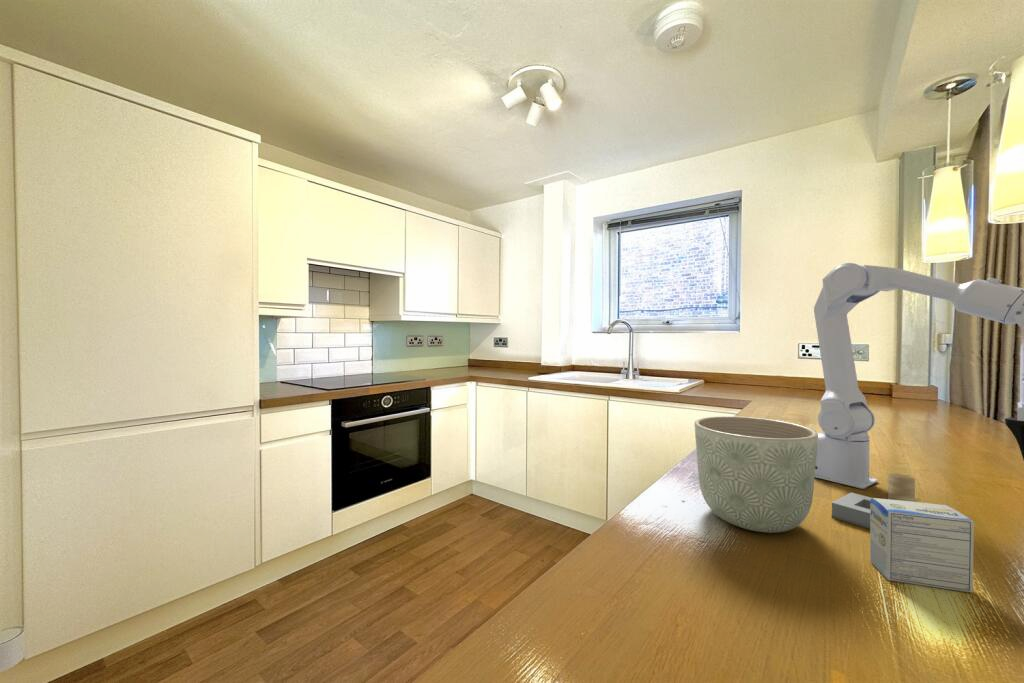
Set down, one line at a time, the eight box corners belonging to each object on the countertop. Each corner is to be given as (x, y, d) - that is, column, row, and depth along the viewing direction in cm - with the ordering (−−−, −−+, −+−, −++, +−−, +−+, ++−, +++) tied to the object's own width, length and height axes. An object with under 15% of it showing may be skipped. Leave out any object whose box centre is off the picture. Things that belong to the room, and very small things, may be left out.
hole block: (831, 517, 65) (831, 502, 65) (850, 506, 69) (851, 492, 69) (907, 540, 58) (907, 524, 58) (923, 526, 62) (923, 511, 62)
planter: (697, 492, 76) (697, 412, 76) (807, 510, 68) (807, 421, 68) (690, 530, 61) (690, 431, 61) (830, 559, 53) (830, 444, 53)
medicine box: (947, 573, 50) (947, 504, 50) (974, 595, 45) (975, 519, 45) (868, 562, 52) (869, 496, 52) (888, 581, 48) (888, 510, 48)
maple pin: (885, 511, 67) (885, 475, 67) (891, 506, 69) (891, 472, 69) (911, 518, 65) (911, 481, 65) (917, 513, 66) (917, 477, 66)
